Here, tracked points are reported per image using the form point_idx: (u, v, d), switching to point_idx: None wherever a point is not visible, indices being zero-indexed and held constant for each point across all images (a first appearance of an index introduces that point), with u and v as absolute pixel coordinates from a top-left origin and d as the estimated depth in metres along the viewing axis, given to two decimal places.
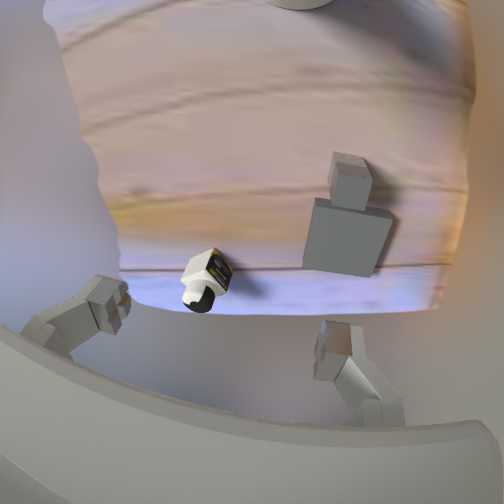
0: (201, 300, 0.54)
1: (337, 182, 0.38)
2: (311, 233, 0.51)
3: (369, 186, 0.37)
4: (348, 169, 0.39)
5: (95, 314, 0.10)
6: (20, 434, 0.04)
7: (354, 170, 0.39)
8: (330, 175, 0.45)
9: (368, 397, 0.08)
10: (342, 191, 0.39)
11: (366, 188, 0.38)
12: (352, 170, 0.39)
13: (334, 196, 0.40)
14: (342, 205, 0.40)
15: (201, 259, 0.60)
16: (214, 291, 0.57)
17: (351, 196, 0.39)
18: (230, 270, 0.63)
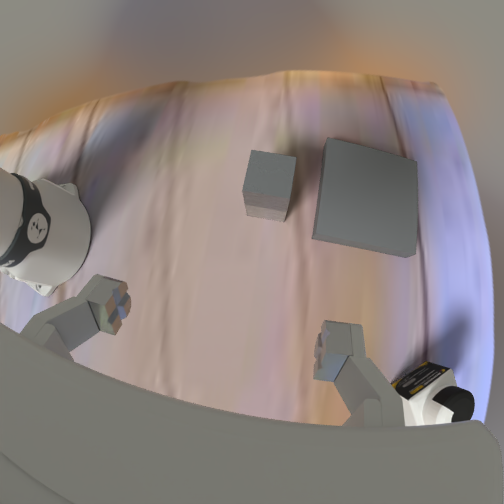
0: (452, 407, 0.22)
1: (254, 191, 0.30)
2: (359, 240, 0.35)
3: (260, 153, 0.31)
4: None
5: (95, 314, 0.10)
6: (20, 434, 0.04)
7: None
8: (272, 214, 0.37)
9: (368, 397, 0.08)
10: (267, 185, 0.30)
11: (262, 156, 0.31)
12: None
13: (276, 194, 0.30)
14: (288, 184, 0.30)
15: None
16: (444, 386, 0.26)
17: (275, 173, 0.31)
18: (424, 364, 0.34)
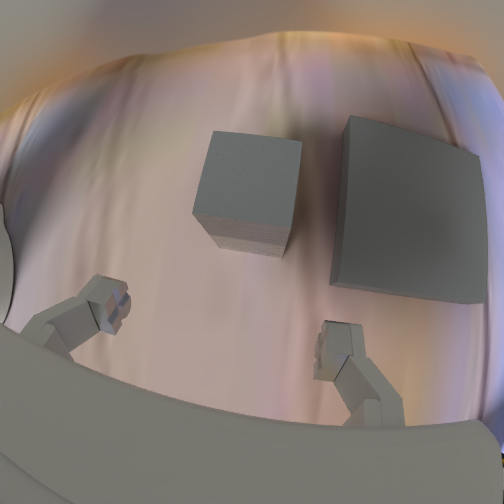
0: None
1: (217, 214, 0.15)
2: (409, 288, 0.19)
3: (229, 136, 0.15)
4: None
5: (95, 314, 0.10)
6: (20, 434, 0.04)
7: None
8: (260, 249, 0.21)
9: (368, 397, 0.08)
10: (244, 200, 0.15)
11: (234, 141, 0.15)
12: None
13: (261, 220, 0.14)
14: (288, 196, 0.15)
15: None
16: None
17: (260, 174, 0.15)
18: None
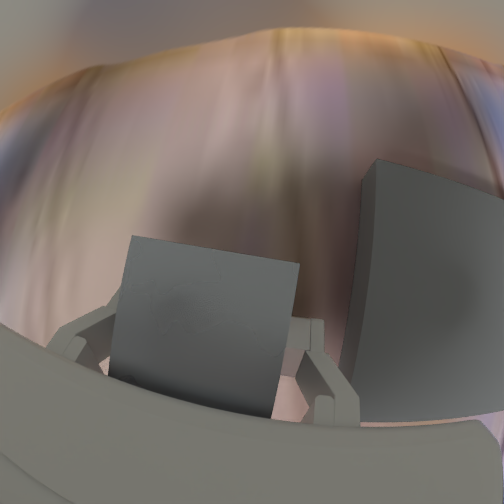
0: None
1: None
2: (432, 416, 0.12)
3: (158, 249, 0.08)
4: None
5: None
6: (20, 433, 0.04)
7: None
8: None
9: (324, 394, 0.08)
10: (185, 385, 0.07)
11: (167, 261, 0.08)
12: None
13: None
14: (264, 383, 0.07)
15: None
16: None
17: (214, 337, 0.08)
18: None
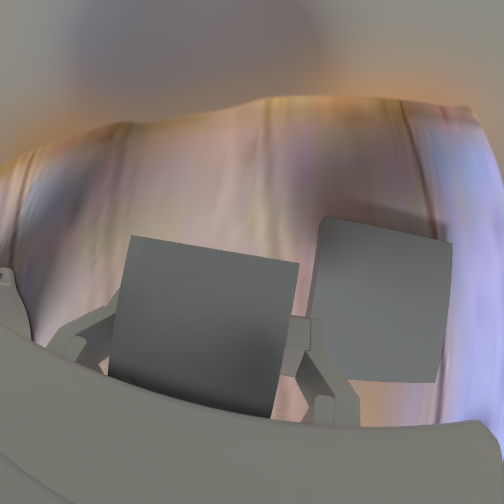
0: None
1: None
2: (360, 377, 0.23)
3: (158, 249, 0.08)
4: None
5: None
6: (20, 433, 0.04)
7: None
8: None
9: (324, 394, 0.08)
10: (184, 385, 0.07)
11: (166, 261, 0.08)
12: None
13: None
14: (264, 383, 0.07)
15: None
16: None
17: (214, 337, 0.08)
18: None
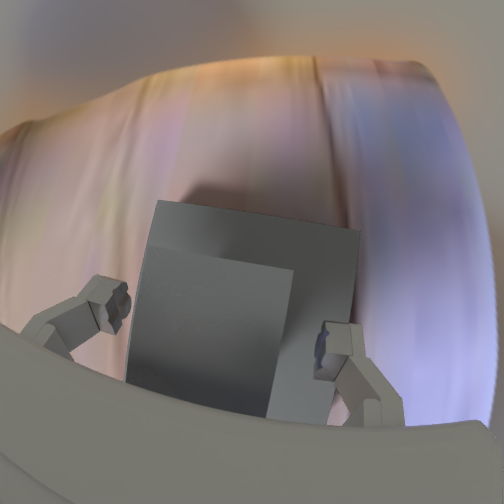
0: None
1: (159, 389, 0.09)
2: None
3: (172, 257, 0.10)
4: None
5: (95, 314, 0.10)
6: (19, 433, 0.04)
7: None
8: None
9: (367, 397, 0.08)
10: (196, 375, 0.09)
11: (180, 268, 0.10)
12: None
13: (222, 405, 0.09)
14: (264, 372, 0.09)
15: None
16: None
17: (221, 333, 0.09)
18: None
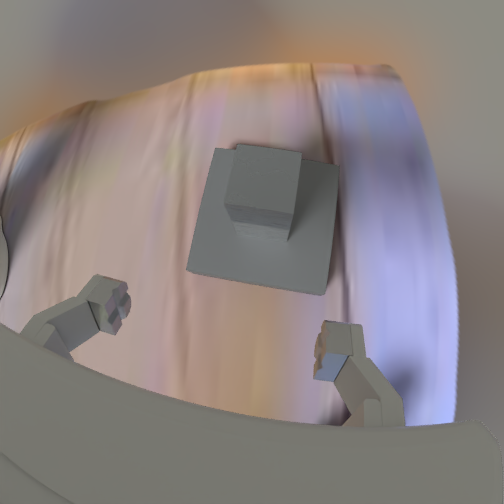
0: None
1: (241, 203, 0.21)
2: (240, 277, 0.29)
3: (249, 148, 0.22)
4: None
5: (95, 314, 0.10)
6: (20, 434, 0.04)
7: None
8: (270, 233, 0.27)
9: (368, 397, 0.08)
10: (260, 194, 0.21)
11: (253, 152, 0.21)
12: None
13: (272, 208, 0.21)
14: (291, 192, 0.21)
15: None
16: None
17: (272, 176, 0.21)
18: None
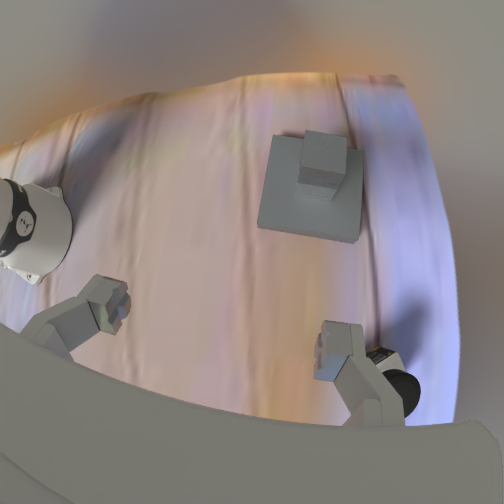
0: None
1: (312, 167, 0.31)
2: (298, 226, 0.39)
3: (313, 133, 0.32)
4: (300, 162, 0.33)
5: (95, 314, 0.10)
6: (20, 434, 0.04)
7: (301, 155, 0.34)
8: (321, 193, 0.37)
9: (368, 397, 0.08)
10: (324, 162, 0.31)
11: (316, 135, 0.32)
12: (301, 157, 0.33)
13: (332, 170, 0.31)
14: (343, 161, 0.31)
15: None
16: (387, 369, 0.30)
17: (330, 151, 0.31)
18: (376, 349, 0.37)
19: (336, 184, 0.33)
